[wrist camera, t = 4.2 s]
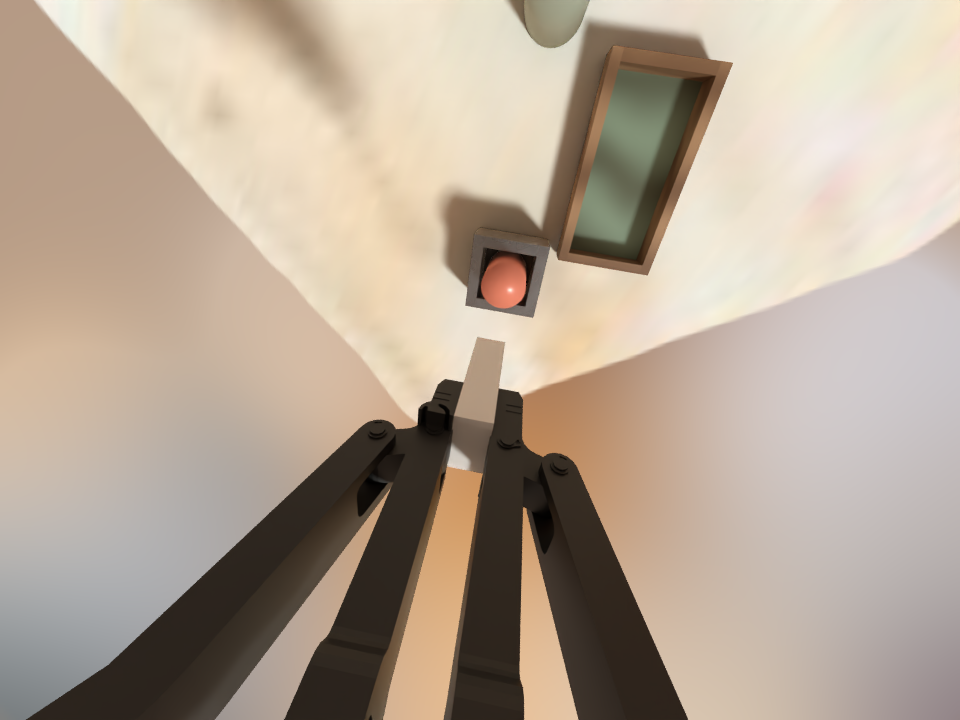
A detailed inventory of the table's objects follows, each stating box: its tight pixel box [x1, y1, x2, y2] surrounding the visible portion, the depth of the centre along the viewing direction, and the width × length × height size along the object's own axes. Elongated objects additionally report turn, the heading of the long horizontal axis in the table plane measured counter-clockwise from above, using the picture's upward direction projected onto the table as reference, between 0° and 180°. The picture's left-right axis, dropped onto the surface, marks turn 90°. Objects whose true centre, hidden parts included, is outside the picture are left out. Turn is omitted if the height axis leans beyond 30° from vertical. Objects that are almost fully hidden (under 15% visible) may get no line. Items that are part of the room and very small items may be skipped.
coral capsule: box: [481, 251, 526, 308], centre depth 33 cm, size 4×4×6 cm
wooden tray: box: [557, 45, 733, 275], centre depth 29 cm, size 16×9×2 cm, turn 172°
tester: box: [465, 227, 550, 318], centre depth 34 cm, size 7×7×4 cm
